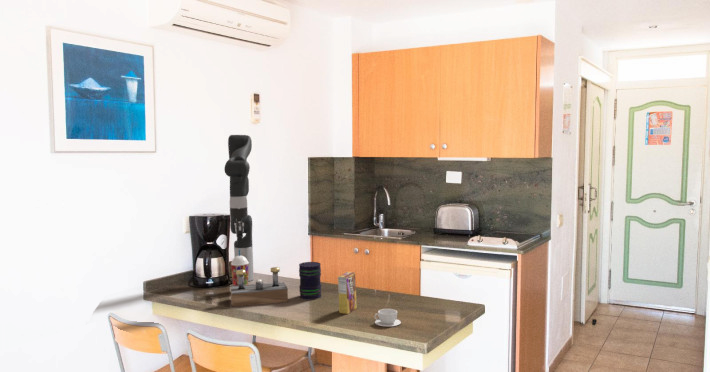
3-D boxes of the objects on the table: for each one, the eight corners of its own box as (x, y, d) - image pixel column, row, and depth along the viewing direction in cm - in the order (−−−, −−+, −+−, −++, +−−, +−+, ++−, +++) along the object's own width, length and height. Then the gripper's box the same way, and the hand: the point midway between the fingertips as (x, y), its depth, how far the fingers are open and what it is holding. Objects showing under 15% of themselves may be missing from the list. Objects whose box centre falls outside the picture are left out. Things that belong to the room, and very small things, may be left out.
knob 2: (270, 287, 257) (270, 267, 256) (279, 286, 258) (279, 266, 257) (271, 289, 253) (271, 269, 252) (280, 289, 254) (280, 268, 253)
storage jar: (323, 293, 263) (322, 261, 262) (319, 299, 253) (319, 266, 252) (301, 293, 264) (301, 261, 263) (297, 299, 254) (296, 266, 253)
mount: (231, 299, 257) (230, 286, 257) (284, 294, 263) (284, 281, 262) (232, 306, 245) (231, 292, 245) (287, 301, 251) (287, 288, 251)
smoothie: (247, 293, 266) (246, 251, 264) (230, 294, 266) (228, 251, 264) (251, 289, 274) (250, 247, 272) (234, 289, 274) (232, 248, 273)
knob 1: (236, 290, 253) (235, 269, 253) (245, 289, 254) (245, 269, 254) (237, 292, 250) (236, 271, 249) (246, 291, 250) (245, 271, 250)
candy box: (347, 307, 241) (346, 271, 240) (356, 308, 239) (356, 272, 238) (338, 313, 233) (337, 276, 232) (347, 314, 231) (347, 277, 230)
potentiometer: (255, 288, 251) (255, 279, 251) (262, 288, 252) (262, 279, 252) (256, 290, 248) (255, 281, 248) (263, 289, 249) (262, 280, 249)
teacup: (399, 319, 224) (399, 307, 224) (402, 327, 215) (402, 315, 214) (373, 319, 224) (373, 308, 224) (375, 328, 214) (375, 315, 214)
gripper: (229, 205, 255) (230, 243, 256) (230, 208, 242) (231, 249, 243) (246, 204, 256) (247, 242, 258) (248, 207, 243) (249, 248, 245)
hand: (239, 245), depth 250 cm, fingers closed
